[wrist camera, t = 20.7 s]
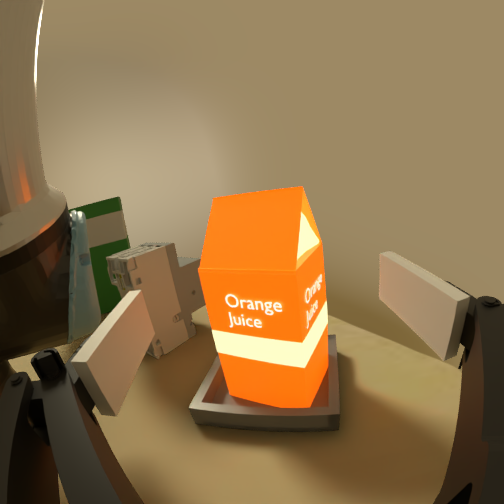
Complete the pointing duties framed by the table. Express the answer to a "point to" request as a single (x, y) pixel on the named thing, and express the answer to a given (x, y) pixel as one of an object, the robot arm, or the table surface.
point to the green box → (105, 246)
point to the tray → (266, 416)
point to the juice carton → (267, 296)
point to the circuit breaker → (161, 290)
